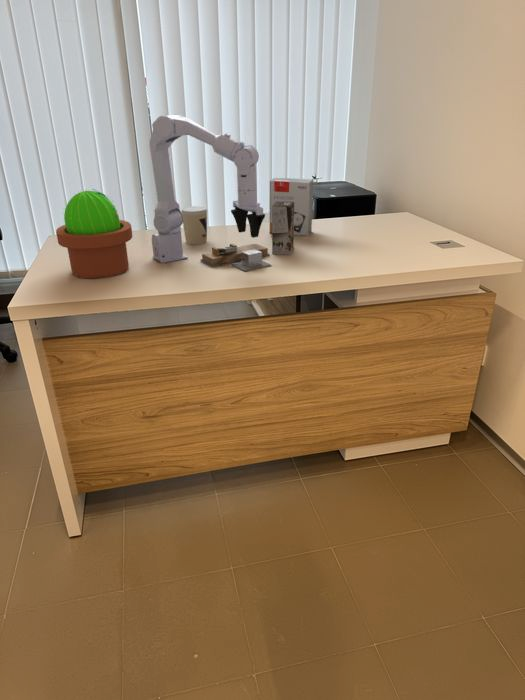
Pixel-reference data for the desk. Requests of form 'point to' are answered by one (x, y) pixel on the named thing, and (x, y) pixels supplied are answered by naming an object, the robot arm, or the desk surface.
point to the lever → (227, 249)
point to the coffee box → (282, 227)
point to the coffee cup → (195, 224)
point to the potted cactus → (94, 236)
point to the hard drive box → (300, 195)
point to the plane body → (230, 255)
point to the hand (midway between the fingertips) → (248, 234)
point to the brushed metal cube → (252, 258)
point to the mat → (245, 268)
